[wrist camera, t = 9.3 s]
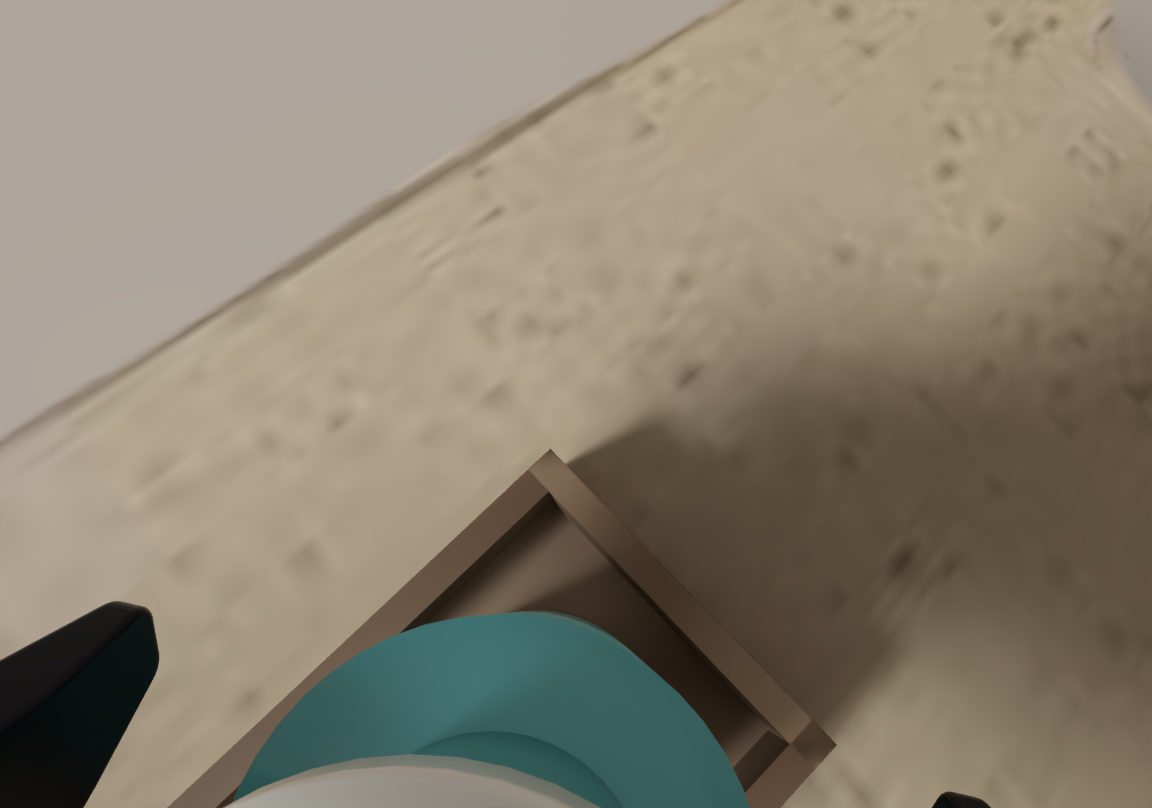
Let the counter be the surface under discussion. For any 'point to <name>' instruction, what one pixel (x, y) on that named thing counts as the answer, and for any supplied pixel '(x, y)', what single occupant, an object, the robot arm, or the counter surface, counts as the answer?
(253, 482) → the counter surface
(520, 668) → the bottle
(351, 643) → the caddy
